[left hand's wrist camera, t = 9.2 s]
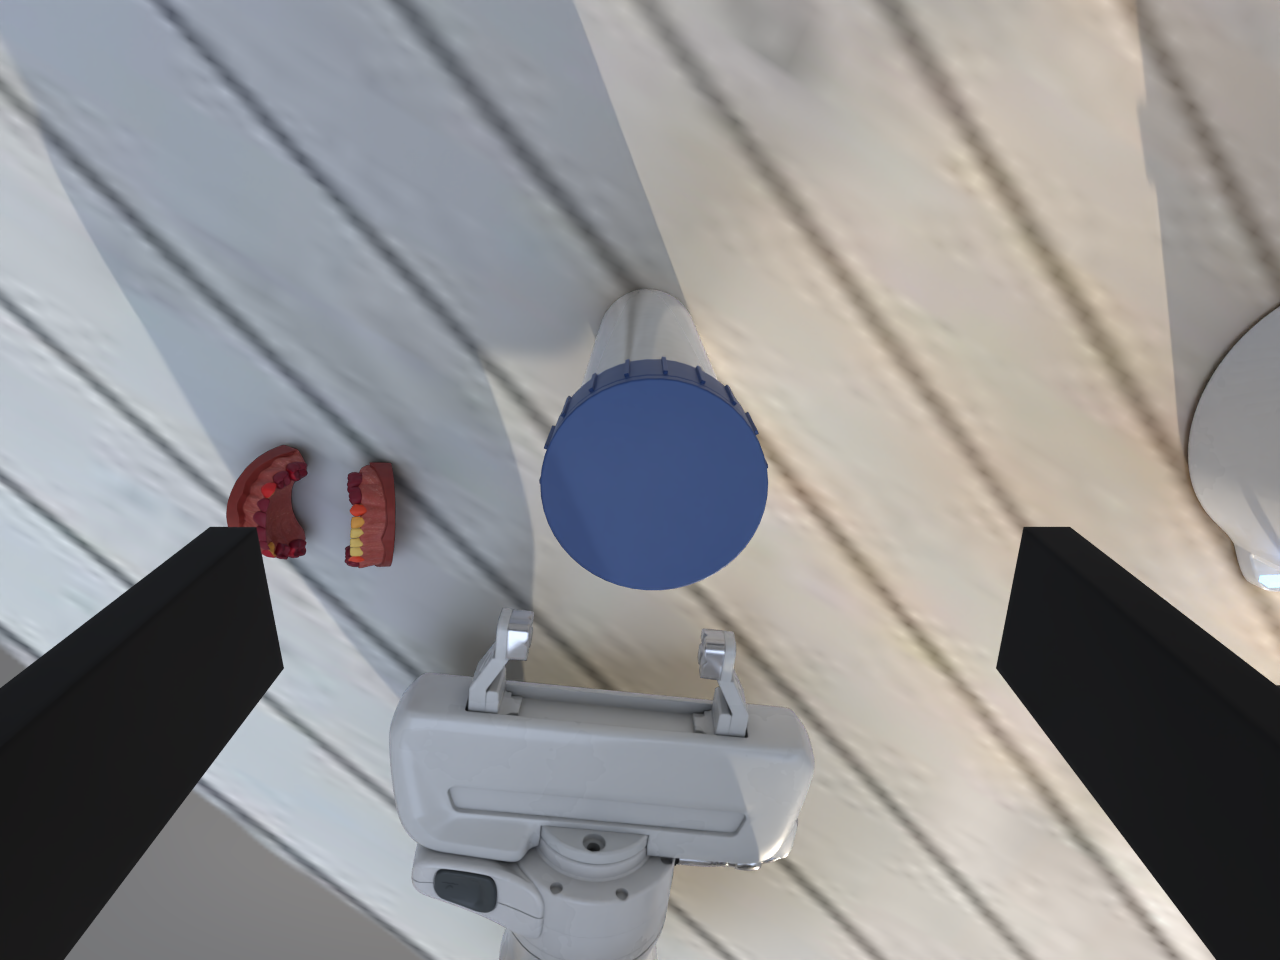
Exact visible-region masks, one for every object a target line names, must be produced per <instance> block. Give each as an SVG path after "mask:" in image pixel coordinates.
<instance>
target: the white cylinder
mask: <svg viewBox="0 0 1280 960" xmlns="http://www.w3.org/2000/svg"><path fill="white" fill-rule="evenodd" d="M662 357H666V360H671V361H676V362H680V363H684V364H688V365H690V366H693V367H695V368H696V366H697V365H698V366H700V367H701V369H702V371H704V372H705V373H707V374H709V375H711V376H712V377H714V378H715V379H716V380H718V379H717V377H716V375H715V372H714V370H713V367H712V365H711V363H710V360H709V358H708V355H707V353H706V351H705V348H704V346H703V343H702V341H701V338H700V336H699V334H698V331H697V329H696V326H695V324H694V322H693V319H692V317H691V315H690V313H689V311H688V310H687V309H686V307H685V306H684V305H683V304H682V303H681V302H680V301H679V300H678V299H676V298H675V297H673V296H672V295H670V294H668V293H666V292H663V291H659V290H654V289H641V290H636V291H632V292H630V293H627V294H625V295H623V296H622V297H620V298H619V299H617V300H616V301H615V302H614V303H613V304H612V305H611V306H610V307H609V309H608V310H607V311H606V313H605V315H604V317H603V319H602V322H601V325H600V328H599V331H598V334H597V337H596V341H595V344H594V347H593V350H592V354H591V357H590V360H589V363H588V366H587V370H586V373H585V376H584V379H583V382H582V386H583V385H584V384H585V383H587V382H588V381H589V380H591V378H592V375H593V374H594V373H597V375H598V374H600V373H601V372H603V371H605V370H607V369H609V368H612V367H614V366H617V365H619V364H623V363H625V360H627V359H630V361H636V360H644V359H661V358H662ZM582 386H581V387H582Z"/></svg>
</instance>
